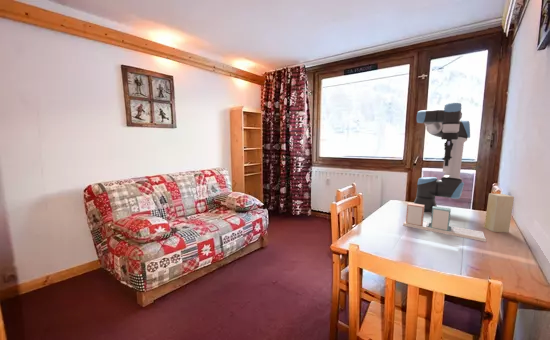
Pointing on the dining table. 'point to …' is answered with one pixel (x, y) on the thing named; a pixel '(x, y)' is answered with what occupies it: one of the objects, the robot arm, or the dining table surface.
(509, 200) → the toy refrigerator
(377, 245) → the dining table surface
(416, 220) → the terracotta carton
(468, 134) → the robot arm
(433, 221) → the teal carton
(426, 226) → the shelf
